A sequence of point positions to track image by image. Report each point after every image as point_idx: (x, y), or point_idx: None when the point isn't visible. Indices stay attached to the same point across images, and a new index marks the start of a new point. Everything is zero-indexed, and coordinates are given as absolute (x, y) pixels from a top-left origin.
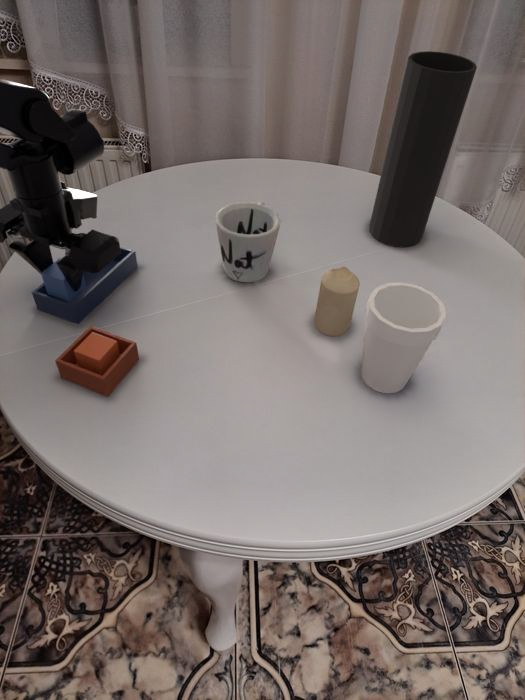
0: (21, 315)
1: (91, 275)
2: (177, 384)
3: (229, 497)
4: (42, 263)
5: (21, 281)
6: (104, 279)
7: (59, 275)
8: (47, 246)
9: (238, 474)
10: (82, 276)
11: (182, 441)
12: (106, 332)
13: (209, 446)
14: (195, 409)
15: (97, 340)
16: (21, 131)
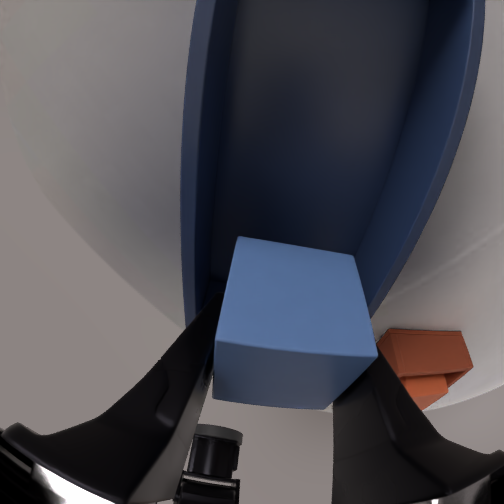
0: (181, 299)
1: (284, 74)
2: (492, 341)
3: (485, 386)
4: (197, 409)
5: (77, 191)
6: (428, 218)
7: (296, 402)
8: (172, 450)
9: (497, 376)
10: (383, 358)
11: (473, 377)
12: (430, 372)
13: (490, 371)
14: (495, 354)
15: (417, 401)
16: None
